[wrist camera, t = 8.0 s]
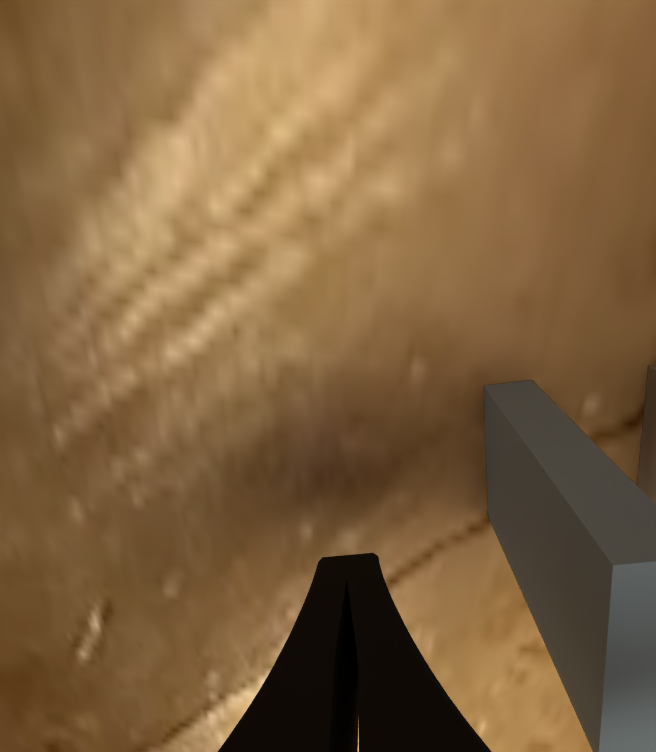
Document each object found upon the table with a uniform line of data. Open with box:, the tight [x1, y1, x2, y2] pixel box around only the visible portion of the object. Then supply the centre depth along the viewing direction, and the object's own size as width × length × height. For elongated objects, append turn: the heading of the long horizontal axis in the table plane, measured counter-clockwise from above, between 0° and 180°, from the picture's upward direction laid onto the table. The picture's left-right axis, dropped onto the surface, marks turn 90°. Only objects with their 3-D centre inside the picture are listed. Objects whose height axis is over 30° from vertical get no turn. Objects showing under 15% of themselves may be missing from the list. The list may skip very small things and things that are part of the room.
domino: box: [484, 380, 656, 752], centre depth 13 cm, size 2×5×8 cm, turn 8°
